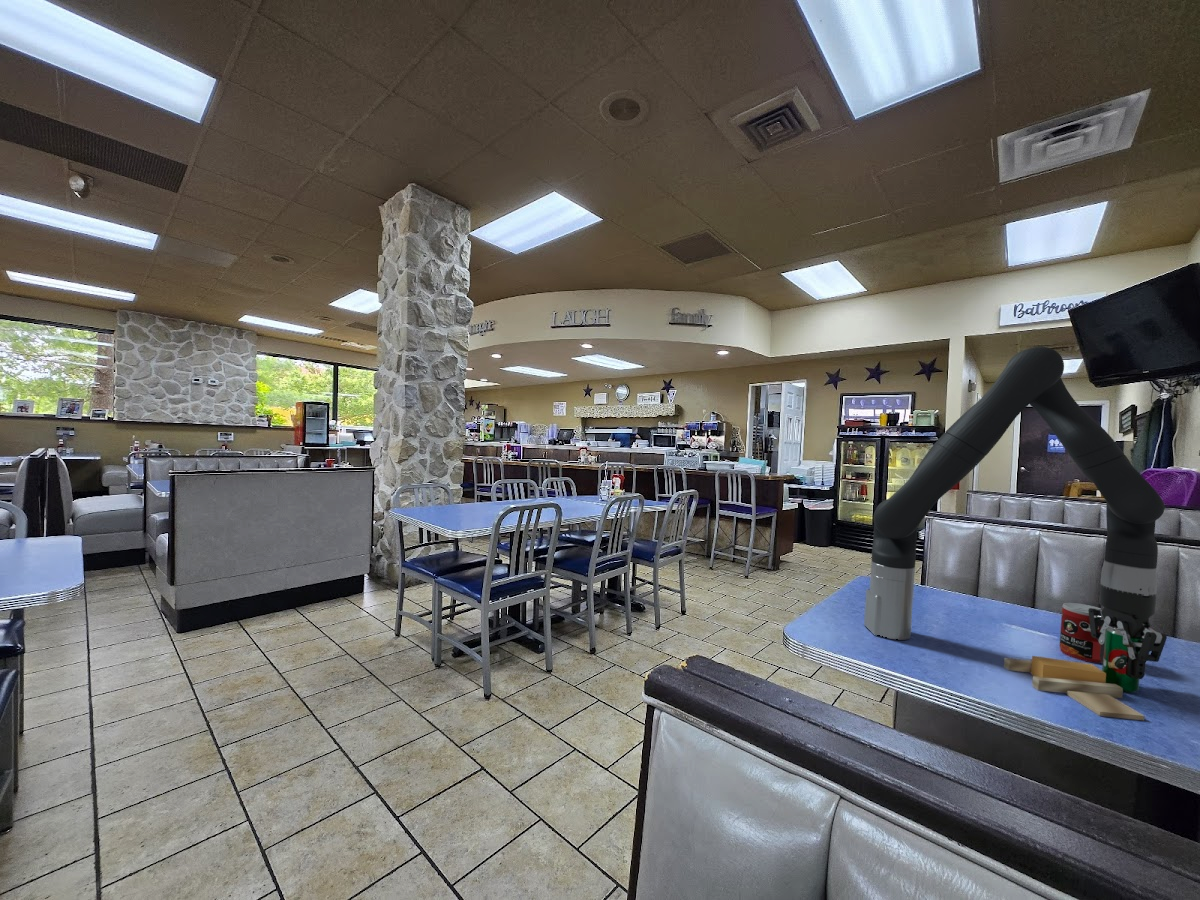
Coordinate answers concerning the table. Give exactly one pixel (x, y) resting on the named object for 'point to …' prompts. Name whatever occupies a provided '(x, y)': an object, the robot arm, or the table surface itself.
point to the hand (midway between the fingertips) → (1120, 670)
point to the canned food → (1078, 633)
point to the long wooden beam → (1066, 670)
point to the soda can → (1118, 660)
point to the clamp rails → (1063, 681)
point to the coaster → (1105, 705)
